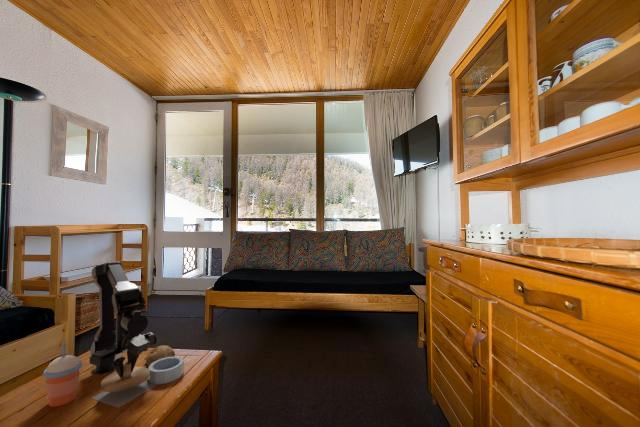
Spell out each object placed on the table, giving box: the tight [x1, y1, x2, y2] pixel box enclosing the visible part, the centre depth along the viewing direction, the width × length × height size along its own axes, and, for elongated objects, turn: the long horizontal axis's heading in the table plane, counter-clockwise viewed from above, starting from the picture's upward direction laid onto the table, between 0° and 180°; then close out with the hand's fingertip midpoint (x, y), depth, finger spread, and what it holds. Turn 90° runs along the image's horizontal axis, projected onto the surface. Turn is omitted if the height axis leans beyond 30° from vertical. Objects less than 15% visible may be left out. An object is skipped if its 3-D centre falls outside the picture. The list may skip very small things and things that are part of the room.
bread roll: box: [144, 345, 176, 367], centre depth 114 cm, size 10×10×8 cm
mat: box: [91, 380, 158, 409], centre depth 93 cm, size 13×13×1 cm
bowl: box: [147, 355, 185, 385], centre depth 103 cm, size 11×11×4 cm
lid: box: [100, 361, 149, 392], centre depth 93 cm, size 13×13×5 cm
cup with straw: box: [42, 341, 83, 408], centre depth 89 cm, size 9×9×18 cm
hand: (125, 374), depth 93 cm, fingers closed on lid, 3 cm apart
